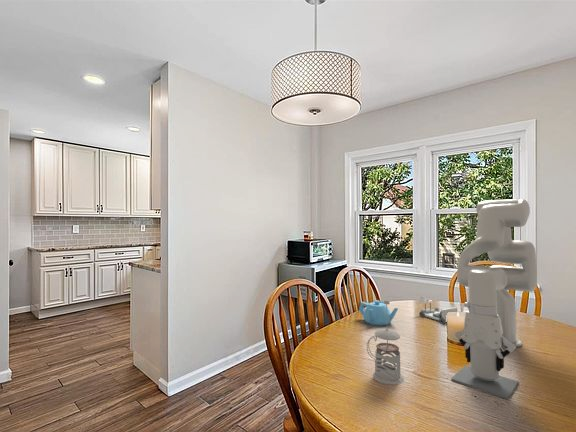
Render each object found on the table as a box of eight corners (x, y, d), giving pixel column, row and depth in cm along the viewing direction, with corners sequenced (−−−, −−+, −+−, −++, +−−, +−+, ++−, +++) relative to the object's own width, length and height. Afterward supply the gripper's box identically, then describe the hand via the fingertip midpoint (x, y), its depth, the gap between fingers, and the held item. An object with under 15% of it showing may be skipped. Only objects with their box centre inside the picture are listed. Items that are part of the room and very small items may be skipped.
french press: (400, 387, 94) (398, 305, 94) (363, 378, 100) (361, 300, 101) (406, 374, 102) (405, 298, 103) (372, 365, 108) (370, 294, 109)
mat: (465, 366, 107) (465, 365, 107) (518, 383, 96) (518, 381, 96) (451, 380, 98) (451, 378, 98) (508, 399, 87) (508, 397, 87)
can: (503, 383, 92) (502, 343, 93) (476, 380, 94) (475, 341, 94) (492, 371, 100) (491, 334, 100) (467, 369, 101) (466, 332, 101)
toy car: (414, 297, 168) (430, 294, 172) (415, 315, 167) (430, 312, 172) (443, 305, 151) (459, 302, 156) (444, 325, 151) (460, 321, 156)
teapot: (384, 316, 165) (384, 296, 165) (399, 325, 150) (399, 303, 150) (357, 318, 162) (357, 297, 162) (370, 327, 147) (369, 305, 148)
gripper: (449, 306, 101) (450, 360, 101) (513, 317, 88) (515, 379, 88) (457, 301, 106) (458, 353, 106) (519, 312, 93) (520, 370, 93)
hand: (484, 364), depth 97 cm, fingers closed on can, 7 cm apart
